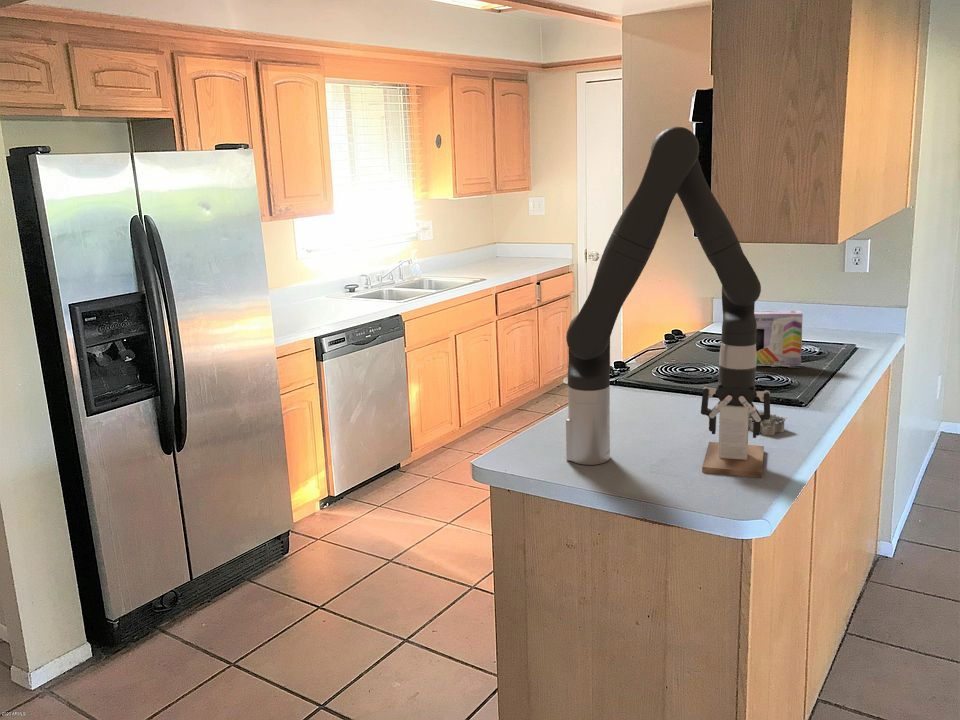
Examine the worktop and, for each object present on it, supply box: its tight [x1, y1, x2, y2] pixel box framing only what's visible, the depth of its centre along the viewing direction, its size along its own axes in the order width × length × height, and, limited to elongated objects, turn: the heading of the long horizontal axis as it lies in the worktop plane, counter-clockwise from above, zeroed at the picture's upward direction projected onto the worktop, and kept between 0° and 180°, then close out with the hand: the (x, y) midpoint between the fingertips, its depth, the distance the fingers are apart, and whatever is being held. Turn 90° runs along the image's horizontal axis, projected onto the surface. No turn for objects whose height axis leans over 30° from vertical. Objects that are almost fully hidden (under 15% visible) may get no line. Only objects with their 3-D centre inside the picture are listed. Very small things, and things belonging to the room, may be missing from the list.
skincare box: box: [718, 405, 749, 460], centre depth 174 cm, size 6×4×12 cm
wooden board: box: [701, 441, 765, 478], centre depth 175 cm, size 12×16×1 cm
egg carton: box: [748, 409, 788, 436], centre depth 195 cm, size 11×8×4 cm
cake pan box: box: [754, 309, 803, 366], centre depth 248 cm, size 19×5×18 cm, turn 73°
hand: (734, 435), depth 174 cm, fingers open, 8 cm apart
